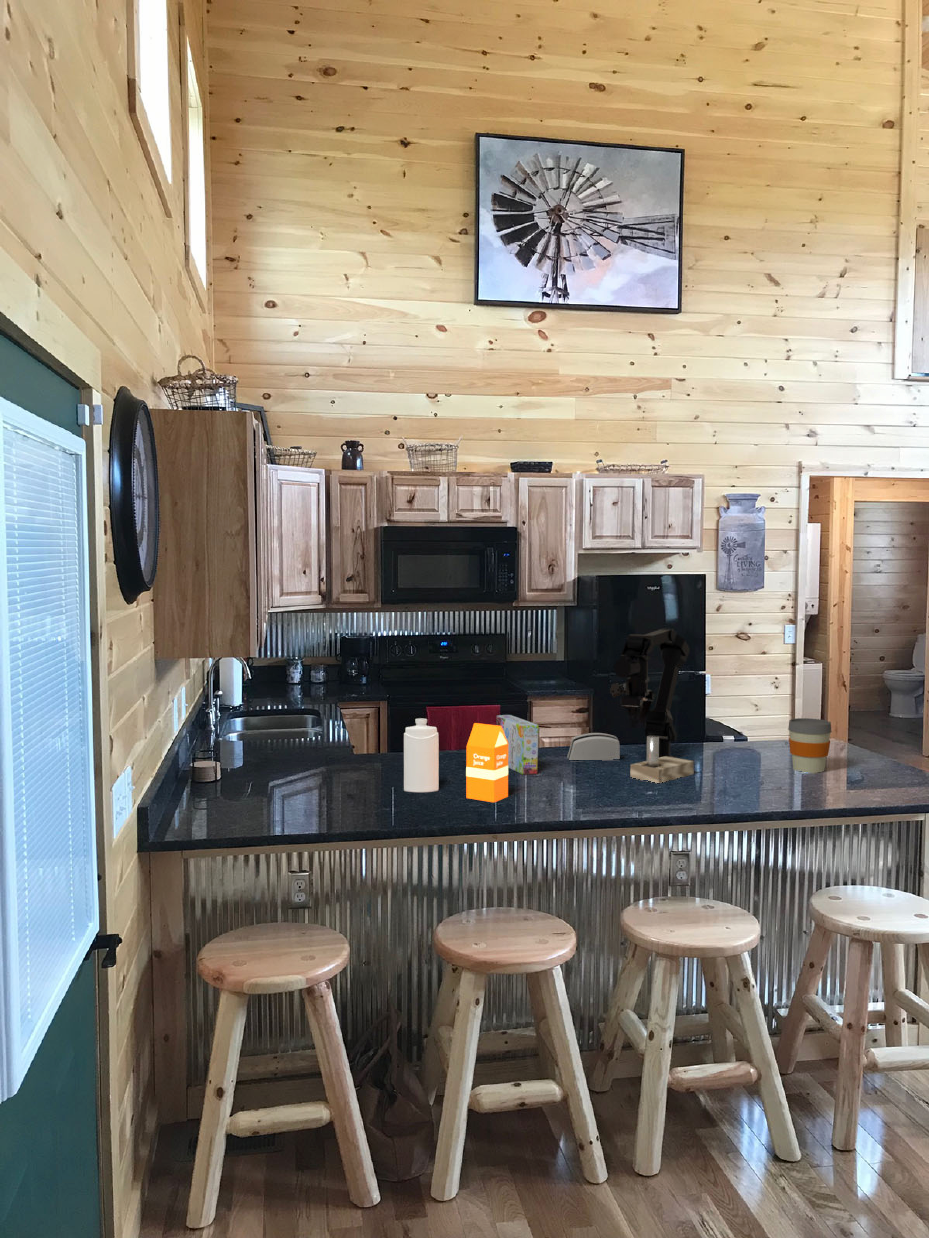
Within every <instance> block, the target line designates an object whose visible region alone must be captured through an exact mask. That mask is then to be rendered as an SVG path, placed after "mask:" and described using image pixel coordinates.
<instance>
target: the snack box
mask: <svg viewBox="0 0 929 1238" xmlns="http://www.w3.org/2000/svg"><path fill="white" fill-rule="evenodd" d="M495 725H498V726H502V729H503V732H504V734H505V737H506V739H507V742H508V769H510V770H513V771H515V772H517V773H519V774H520V775H523V776H524V775H537V774H538V761H539V760H538V758H539V757H538V756H539V733H540V732H539V731H540V729H539V727H540V725H539V724H537V723H534V722H531V721H528V720H526V719H523V718H520V717H518V716H514V715H512V714H502V715H501V714H499V715H496V719H495Z"/></svg>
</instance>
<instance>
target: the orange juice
mask: <svg viewBox="0 0 929 1238" xmlns="http://www.w3.org/2000/svg"><path fill="white" fill-rule="evenodd" d="M465 766H466V768H465V777H466V786H465V787H466V788H465V789H466V791H465V792H466V793H465V794H466V799H472V800H477V801H483V802H488V803H489V802H490V803H497V802H499V801H501V800H503V799H505V798H508V797H509V768H508V742H507V739H506V737H505V734H504V732H503V729H502V726H498V725H496V724H488V723H487V724H486V723H479V722H474V723H473V725H472V730H471V732H470V736H469V737H468V741H467V744H466V765H465Z"/></svg>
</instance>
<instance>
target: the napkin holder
mask: <svg viewBox="0 0 929 1238" xmlns="http://www.w3.org/2000/svg"><path fill="white" fill-rule="evenodd" d="M620 747H621V746H620V741H619V739H618V737H617V736H616V735H612V734H608V733H602V732H590V733H583V734H580V735H579V734H578V735H576V736H573V737H572V739H571V741H570V746H569V750H568V753H567V756H566V759H568V761H569V760H602V761H614V760H613V759H620V758H621V757H620V756H621V754H620V752H621V751H620ZM620 760H621V759H620Z"/></svg>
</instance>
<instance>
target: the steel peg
mask: <svg viewBox="0 0 929 1238" xmlns="http://www.w3.org/2000/svg"><path fill="white" fill-rule="evenodd" d="M646 761H647V767H653V768H656V767H659V737H658V736H647V739H646Z"/></svg>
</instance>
